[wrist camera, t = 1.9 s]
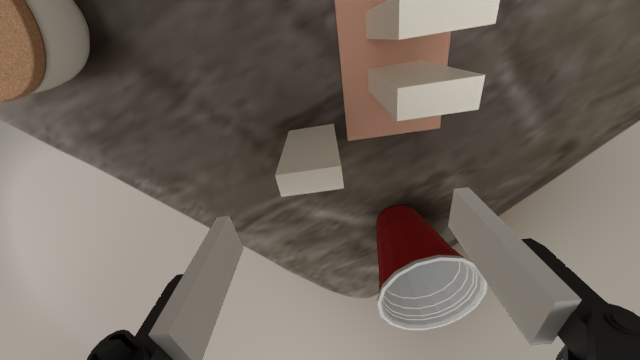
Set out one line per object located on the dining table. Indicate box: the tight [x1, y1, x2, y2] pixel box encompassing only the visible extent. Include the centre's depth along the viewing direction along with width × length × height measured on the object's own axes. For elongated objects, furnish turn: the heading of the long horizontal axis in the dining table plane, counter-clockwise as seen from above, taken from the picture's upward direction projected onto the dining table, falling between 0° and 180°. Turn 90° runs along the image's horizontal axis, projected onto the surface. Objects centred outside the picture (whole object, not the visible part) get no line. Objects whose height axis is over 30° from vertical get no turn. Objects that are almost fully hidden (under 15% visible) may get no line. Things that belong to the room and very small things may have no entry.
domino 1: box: [275, 124, 344, 197], centre depth 22 cm, size 2×5×10 cm, turn 99°
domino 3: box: [368, 61, 485, 121], centre depth 19 cm, size 2×5×10 cm, turn 98°
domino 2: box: [365, 0, 500, 40], centre depth 16 cm, size 2×5×10 cm, turn 98°
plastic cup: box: [376, 205, 487, 330], centre depth 28 cm, size 11×11×12 cm
